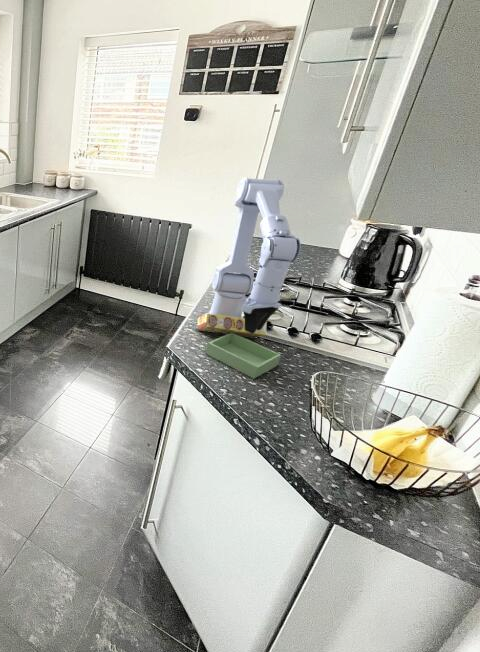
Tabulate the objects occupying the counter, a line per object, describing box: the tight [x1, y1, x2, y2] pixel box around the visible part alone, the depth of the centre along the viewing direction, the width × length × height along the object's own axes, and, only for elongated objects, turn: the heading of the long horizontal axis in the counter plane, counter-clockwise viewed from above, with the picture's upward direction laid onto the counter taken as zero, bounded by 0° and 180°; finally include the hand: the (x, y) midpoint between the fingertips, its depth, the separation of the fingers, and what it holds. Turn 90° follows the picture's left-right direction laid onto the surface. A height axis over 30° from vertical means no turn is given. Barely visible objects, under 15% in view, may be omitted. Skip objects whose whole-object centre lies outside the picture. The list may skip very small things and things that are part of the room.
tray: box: [204, 332, 282, 379], centre depth 114 cm, size 11×13×4 cm
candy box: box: [197, 313, 268, 339], centre depth 123 cm, size 9×4×15 cm
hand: (252, 329), depth 111 cm, fingers closed
